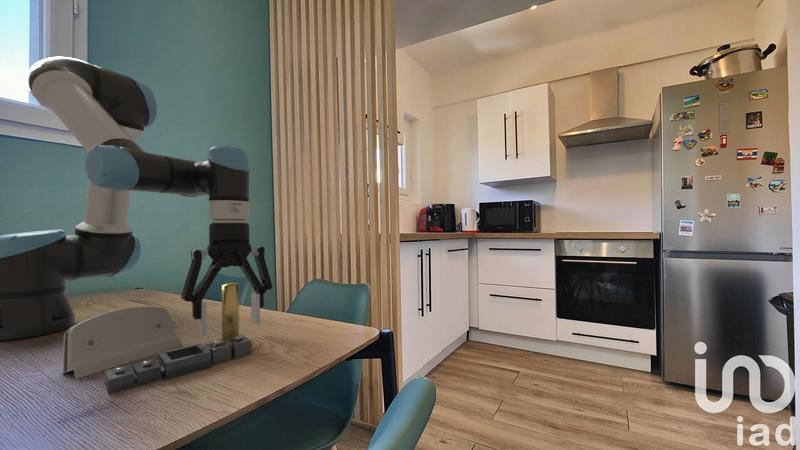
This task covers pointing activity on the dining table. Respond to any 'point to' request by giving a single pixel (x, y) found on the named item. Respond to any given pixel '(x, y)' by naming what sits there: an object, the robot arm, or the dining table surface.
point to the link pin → (230, 310)
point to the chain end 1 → (146, 373)
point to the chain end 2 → (206, 352)
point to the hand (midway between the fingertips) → (230, 328)
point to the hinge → (117, 339)
